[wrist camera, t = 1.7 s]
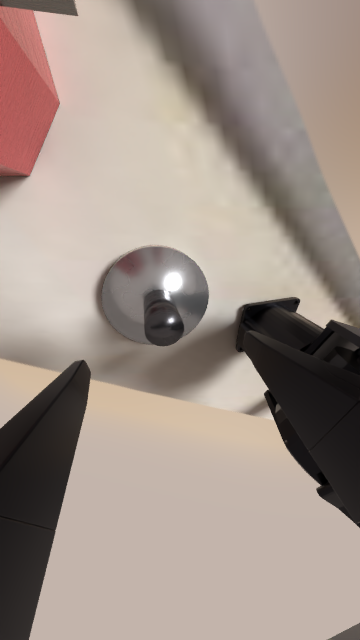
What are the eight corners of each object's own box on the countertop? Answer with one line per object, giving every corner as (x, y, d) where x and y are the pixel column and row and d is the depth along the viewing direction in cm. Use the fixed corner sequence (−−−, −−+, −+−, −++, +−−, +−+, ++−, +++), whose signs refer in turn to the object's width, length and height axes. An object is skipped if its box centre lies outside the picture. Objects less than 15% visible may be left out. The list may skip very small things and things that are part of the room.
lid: (206, 240, 13) (239, 250, 9) (202, 329, 18) (222, 364, 14) (88, 249, 12) (57, 267, 7) (119, 343, 16) (112, 387, 12)
